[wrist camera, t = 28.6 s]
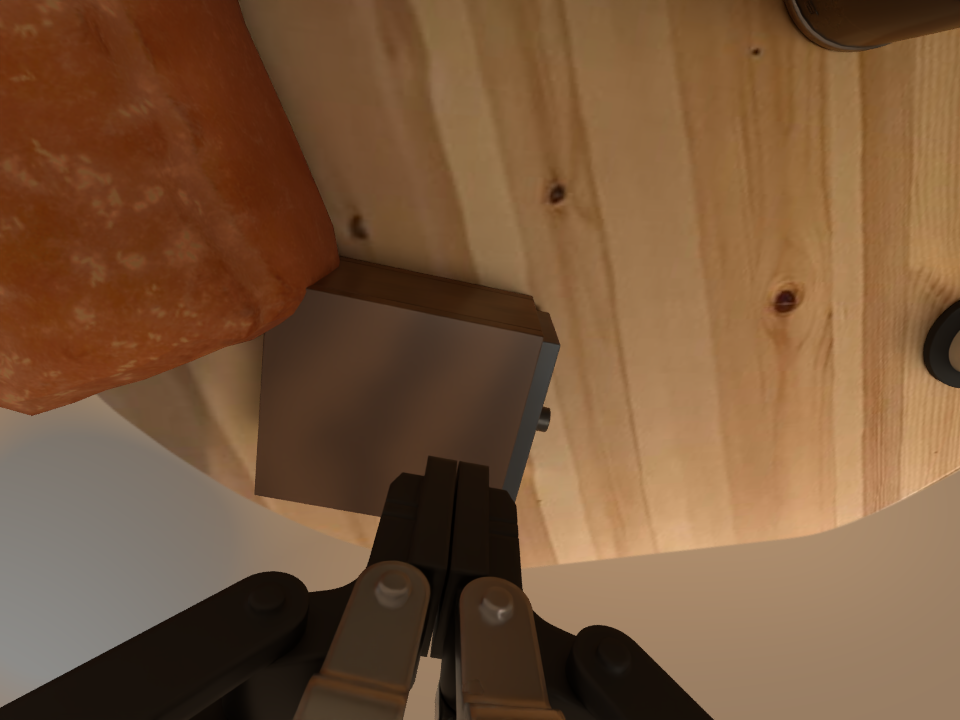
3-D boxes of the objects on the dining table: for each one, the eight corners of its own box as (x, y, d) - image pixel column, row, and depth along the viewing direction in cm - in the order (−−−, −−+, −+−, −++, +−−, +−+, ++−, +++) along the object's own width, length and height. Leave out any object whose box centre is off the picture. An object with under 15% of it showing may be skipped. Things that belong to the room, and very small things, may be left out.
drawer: (567, 316, 36) (581, 349, 30) (521, 472, 40) (527, 525, 35) (343, 269, 35) (317, 295, 29) (324, 436, 39) (298, 485, 34)
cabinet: (532, 296, 36) (544, 336, 29) (488, 466, 41) (489, 536, 34) (311, 249, 35) (266, 280, 28) (295, 430, 40) (253, 495, 33)
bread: (174, -179, 27) (-151, -505, 13) (362, 281, 36) (286, 375, 22) (-109, -52, 29) (-645, -217, 15) (136, 352, 38) (-62, 478, 24)
